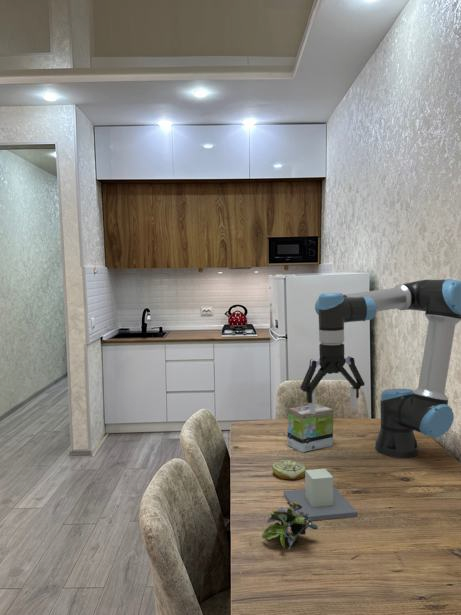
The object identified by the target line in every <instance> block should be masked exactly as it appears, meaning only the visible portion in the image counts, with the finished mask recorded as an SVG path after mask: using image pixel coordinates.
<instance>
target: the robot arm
mask: <svg viewBox="0 0 461 615" xmlns="http://www.w3.org/2000/svg"><path fill="white" fill-rule="evenodd" d="M314 309H315V312H316V314H317V315H318V338H319V339H318V341H319V342H320V344H319V346H318V347H319V348H318V349H319V351H318V352H319V359H318V360H316V359H315V360H314V359H310V360H309V365H308V366H309V367H308V369H307V371H306V373H305V375H304V377H303V380H302V382H301V385H300V390H301V391H303V392H304V393H305V392H306V402H307V403H308V404H309V405H310V412H311V413H312V414H315V404H316V393H315V391H314V390H315V389H316V387H317V386H318V385H319V384H320V382H321V381H322V379H323V378H324V377H325V376H326V375H327V374H329V375H331V374H339V373H340V374H341V375H342V376H343V378H345V379H346V381H348V383H349V384H350V385H351V386H350V387H349V394H350V395H349V399H350V400H349V401H350V402H349V403H350V405H349V406H350V409H352V410H354V411H355V410H358V409H357V399H359V396H360V394H359V393H360V392H359V390H360V389H361V387H364V386H365V385H366V384H365V381H364V380H363V378H362V375H361V374H360V372H359V369H358V368H357V366H356V364H355V363H356V362H355V358H354V357H352V356H347V357H345V344H344V342H345V324H346V323H352V322H353V323H354V322H365V321H371V320H372V319H374V318H375V316H376V315H377V312H382V311H383V312H384V311H389V310H396V309H397V310H399V311H408V310H410V311H419V312H425V313H424V315H425V317H426V319H427V322H428V324H427V330H426V336H425V343H424V349H423V355H422V360H421V362H422V363H421V368H420V373H419V374H420V375H419V380H418V385H417V388H416V389H414V390H413V389H410V388H389V389H384V390H383V391H381V394H380V395H381V396H380V400H379V401H380V427H379V428H380V429H379V432H378V434H377V437H376V441H375V446H374V448H375V450H376V451H377V452H378V453H380V454H383V455H385V456H388V457H393V458H411V457H416V456H418V454H419V446H418V442H417V439H416V436H415V433H414V431H415V432H418V433H421V434H422V435H424V436H429V437H432V438H438V437H439V438H440V437H441V436H443V435H445V434H446V433H447V432H448V431H449V430H450V429H451V427H452V425H453V424H454V418H455V416H454V411H453V409H452V407H450V405H448V403H449V398H448V396H447V395H446V394H445V392H446V386H447V382H448V381H447V380H448V375H449V374H448V373H449V368H450V361H451V355H452V349H453V348H452V347H453V342H454V336H455V329H456V325H457V324H458V323H460V322H461V280H460V279H452V278H449V279H420V280H416V281H411V282H406V283H401V284H396V285H395V286H394V287H392V288H386V289H385V288H384V289H383V288H382V289H377V290H376V289H375V290H369V291H361V292H353V293H346V294H343V293H342V292H323V293H320V294H319V296H318V298H317V299H316V300H315V304H314ZM345 364H346V365H348V368H349V369H350V371H351V373H352V375H353V377H354V378H353V377H352V376H351V374H350V373H349V372H348V371H347V369H345V368H344V366H345ZM319 366H320V368H319V369H318V371H317V373H316V374H315V372H316V368H317V367H319ZM314 374H315V376H314Z"/></svg>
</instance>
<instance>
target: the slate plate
mask: <svg viewBox="0 0 461 615" xmlns="http://www.w3.org/2000/svg"><path fill="white" fill-rule="evenodd" d="M283 496H284V498H285V499H286V501H287V502H295V503H297V504H300V505H301V506H302V509H299V512H304V514H306V513H307V514H309V515H308V517H309V518H311V522H312V521H313V522H314V521H323V520H324V521H325V520H334V519H335V520H336V519H343V518H355V517H358V511H357V510H356V509H355V507H353V506H352V504H351V503H350V502H349V501H348V500H347V499H346V498H345V497H344V496H343V495H342V493H341V492H340V491H339V490H338V489H337V488H336V486H333V505H328V506H317V507H312V506H311V504H310V503H309V502H308V500H307V499H306V497H305V488H303V489H301V488H300V489H292V490H291V489H290V490H283ZM291 508H292V509H294V508H293V507H291ZM297 511H298V510H297Z"/></svg>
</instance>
